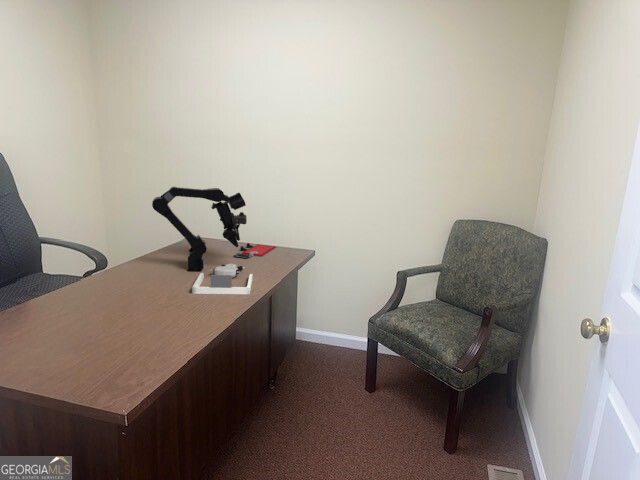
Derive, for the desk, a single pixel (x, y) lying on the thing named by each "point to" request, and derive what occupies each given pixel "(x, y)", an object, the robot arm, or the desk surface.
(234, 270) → the robot toy
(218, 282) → the frame
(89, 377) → the desk surface
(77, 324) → the desk surface
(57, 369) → the desk surface
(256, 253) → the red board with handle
